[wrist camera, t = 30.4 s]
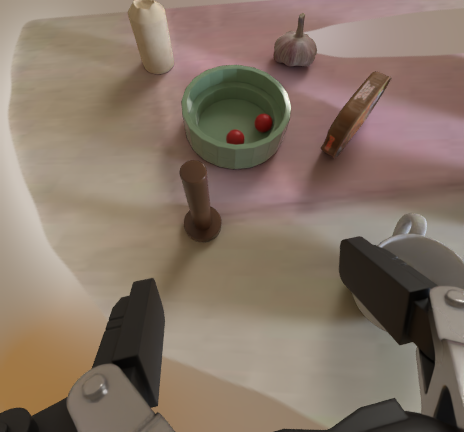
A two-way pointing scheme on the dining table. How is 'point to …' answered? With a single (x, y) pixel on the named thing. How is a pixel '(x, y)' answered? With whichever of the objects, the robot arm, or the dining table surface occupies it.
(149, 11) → the candle
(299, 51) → the garlic bulb
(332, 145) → the tin
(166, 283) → the dining table surface
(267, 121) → the berry
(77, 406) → the robot arm
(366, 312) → the teacup
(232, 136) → the berry
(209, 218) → the muddler
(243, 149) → the bowl
